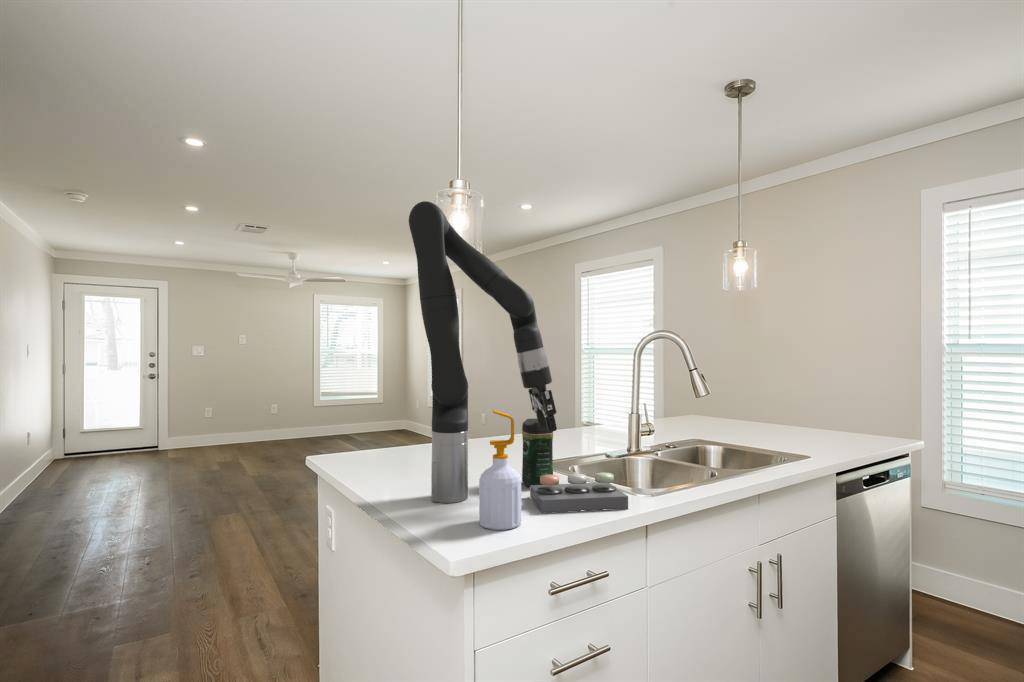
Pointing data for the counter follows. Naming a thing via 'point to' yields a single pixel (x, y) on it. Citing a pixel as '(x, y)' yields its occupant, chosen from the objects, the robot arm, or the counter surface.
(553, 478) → the terracotta button
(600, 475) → the sage button
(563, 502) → the button panel
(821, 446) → the counter surface
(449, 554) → the counter surface
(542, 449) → the coffee jar
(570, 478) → the white button
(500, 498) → the soap bottle
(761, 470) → the counter surface
